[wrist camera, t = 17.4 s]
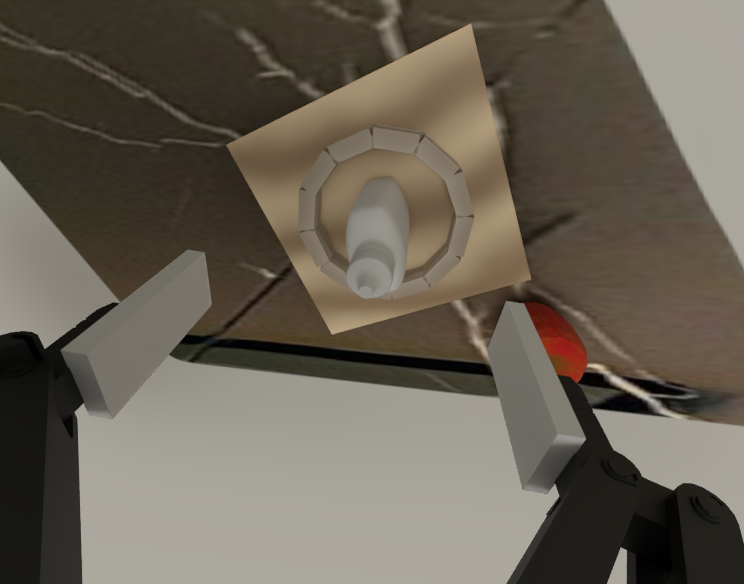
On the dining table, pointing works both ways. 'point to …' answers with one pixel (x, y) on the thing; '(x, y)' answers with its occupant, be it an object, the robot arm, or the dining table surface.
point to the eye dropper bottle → (377, 239)
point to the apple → (559, 341)
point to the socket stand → (410, 170)
